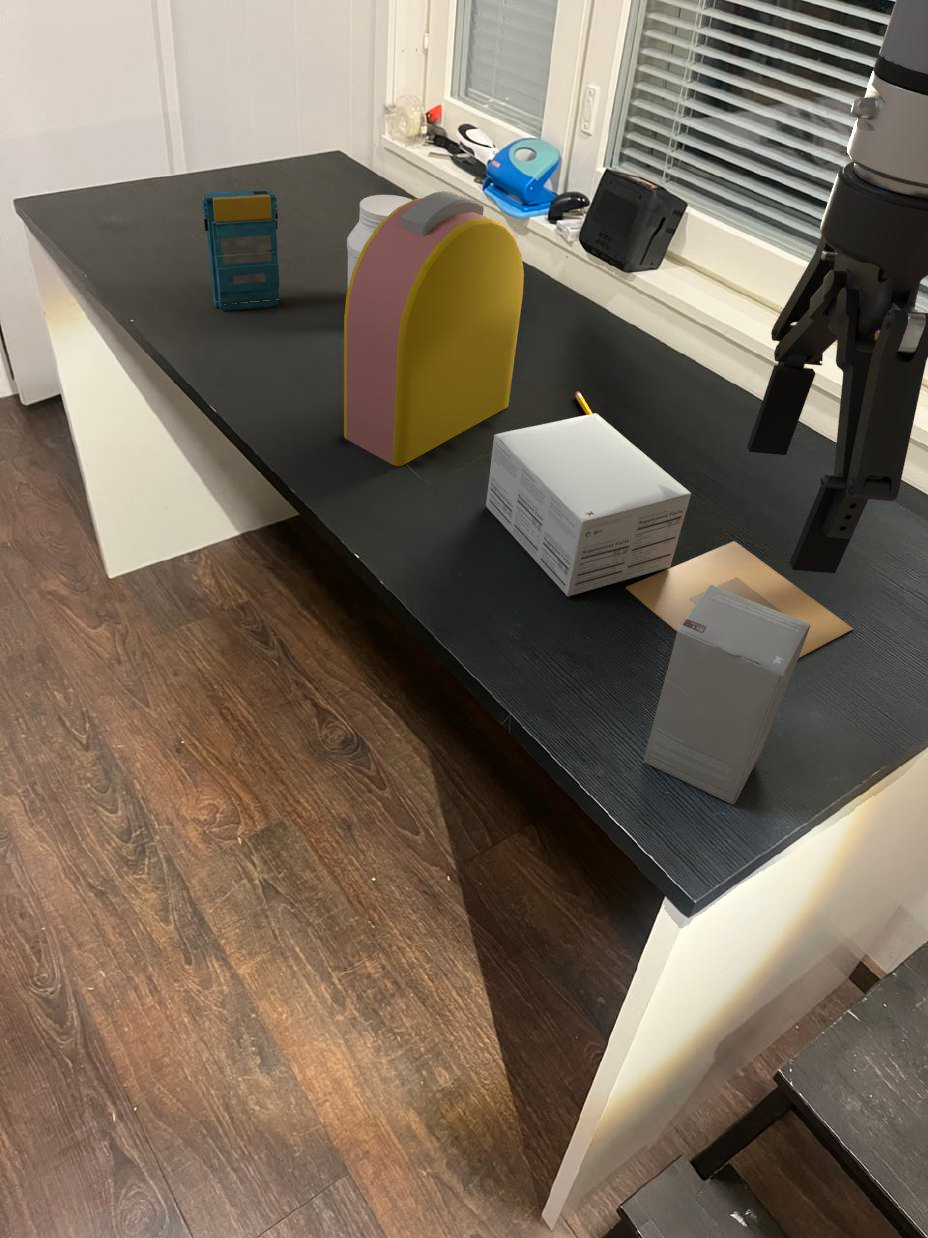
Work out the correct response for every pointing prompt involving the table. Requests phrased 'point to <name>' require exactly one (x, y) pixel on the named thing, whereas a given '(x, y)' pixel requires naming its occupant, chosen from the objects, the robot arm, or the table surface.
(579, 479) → the supplement box
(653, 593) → the cork mat
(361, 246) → the jar
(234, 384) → the table surface
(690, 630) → the cosmetic box
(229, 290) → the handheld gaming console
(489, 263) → the lunch box
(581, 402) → the pencil
